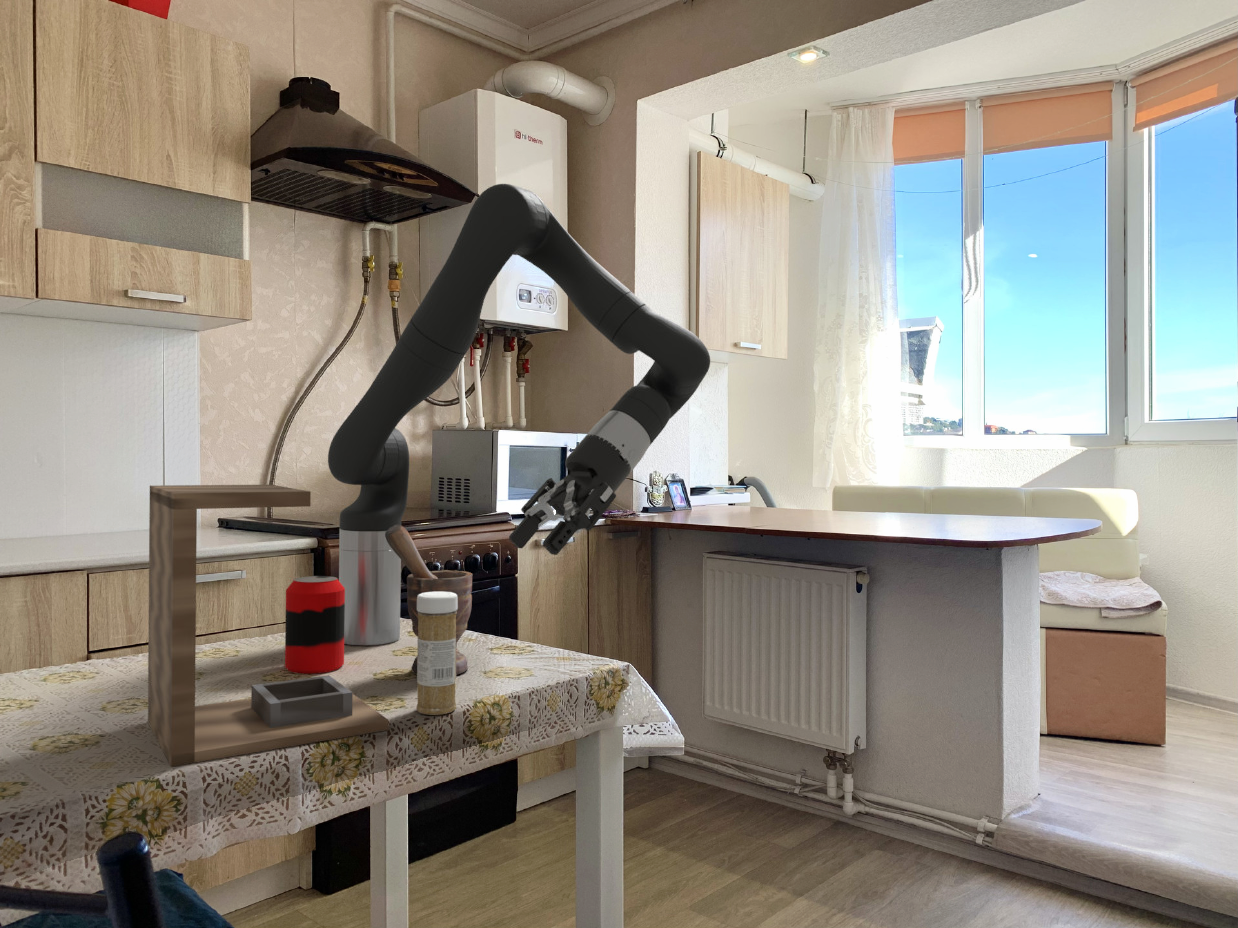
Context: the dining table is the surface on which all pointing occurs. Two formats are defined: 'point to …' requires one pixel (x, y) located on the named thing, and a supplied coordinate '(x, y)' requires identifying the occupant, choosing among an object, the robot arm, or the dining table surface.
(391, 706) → the dining table surface
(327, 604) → the soda can
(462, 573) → the mortar and pestle
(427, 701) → the sprinkles bottle
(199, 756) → the overhang stand
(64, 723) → the dining table surface
